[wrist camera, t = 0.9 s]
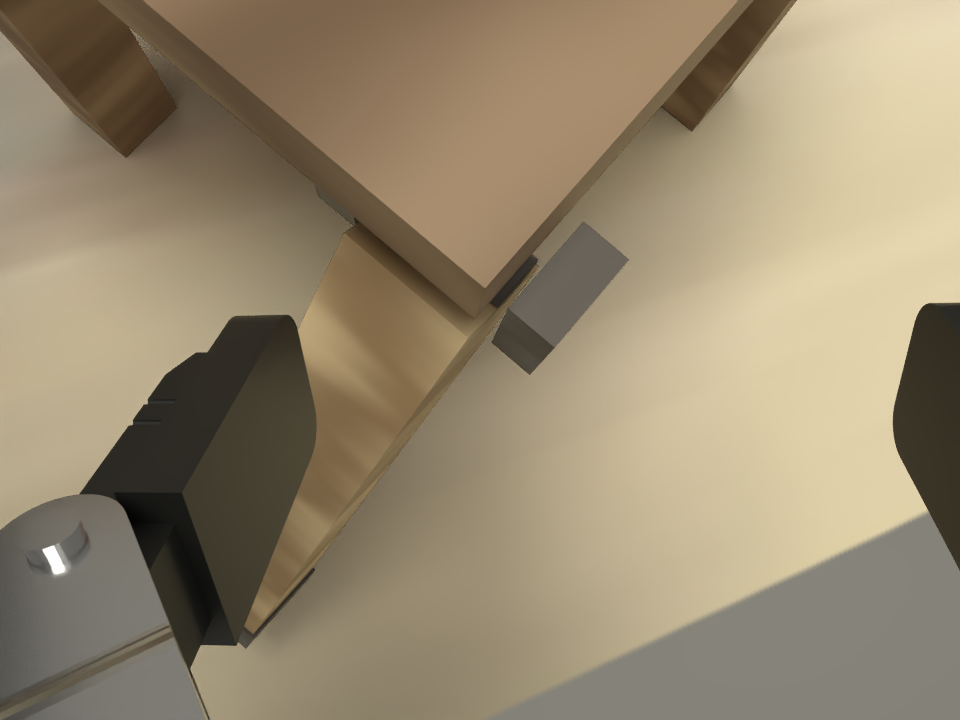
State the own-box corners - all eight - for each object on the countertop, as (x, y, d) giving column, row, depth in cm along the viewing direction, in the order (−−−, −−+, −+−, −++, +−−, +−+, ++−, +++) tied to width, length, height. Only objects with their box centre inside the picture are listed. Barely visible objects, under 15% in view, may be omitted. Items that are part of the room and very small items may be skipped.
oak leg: (173, 584, 27) (356, 189, 14) (240, 521, 30) (449, 130, 17) (245, 648, 27) (496, 307, 14) (307, 580, 29) (571, 231, 16)
